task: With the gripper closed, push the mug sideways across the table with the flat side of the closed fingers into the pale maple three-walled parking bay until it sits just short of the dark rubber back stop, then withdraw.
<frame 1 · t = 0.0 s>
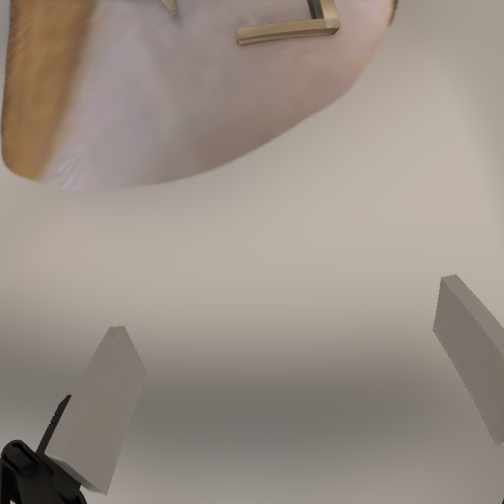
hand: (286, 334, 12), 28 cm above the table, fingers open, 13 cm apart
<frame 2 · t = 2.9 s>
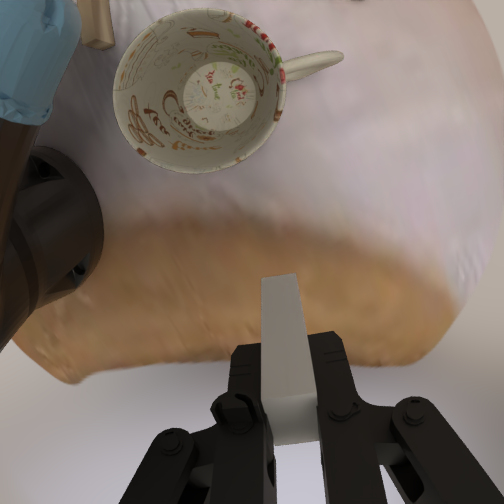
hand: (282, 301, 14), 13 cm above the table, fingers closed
mug: (246, 86, 22), on the table
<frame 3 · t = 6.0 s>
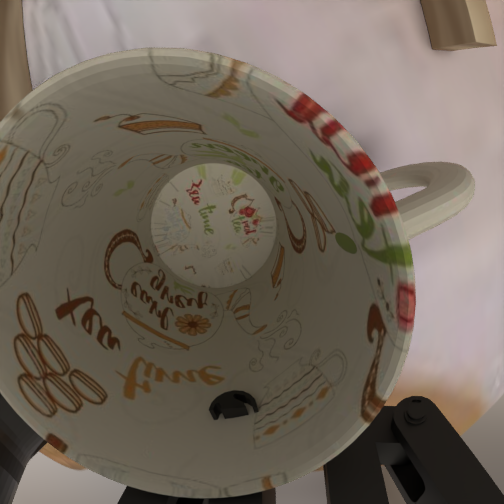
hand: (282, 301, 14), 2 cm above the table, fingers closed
mug: (258, 207, 14), on the table, touching gripper, hand
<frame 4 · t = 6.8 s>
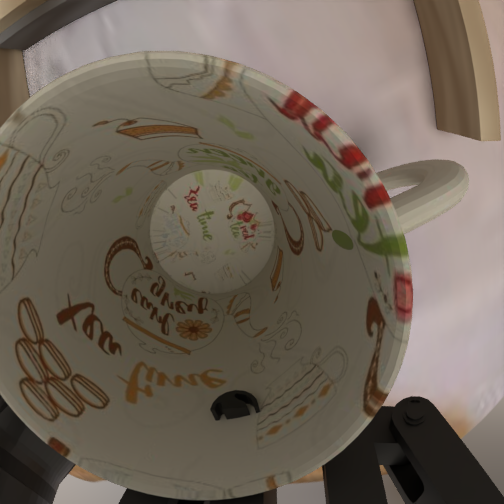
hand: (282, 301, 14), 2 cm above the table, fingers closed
mug: (255, 212, 14), on the table, touching gripper, hand
bay: (211, 36, 11), on the table
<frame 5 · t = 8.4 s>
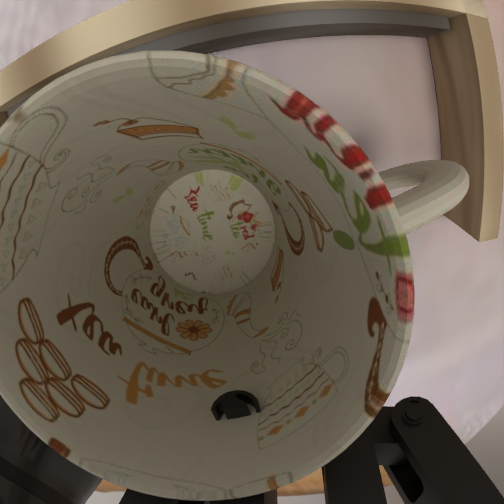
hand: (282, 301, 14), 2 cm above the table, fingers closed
mug: (255, 212, 14), on the table, touching gripper, hand
bay: (235, 125, 13), on the table
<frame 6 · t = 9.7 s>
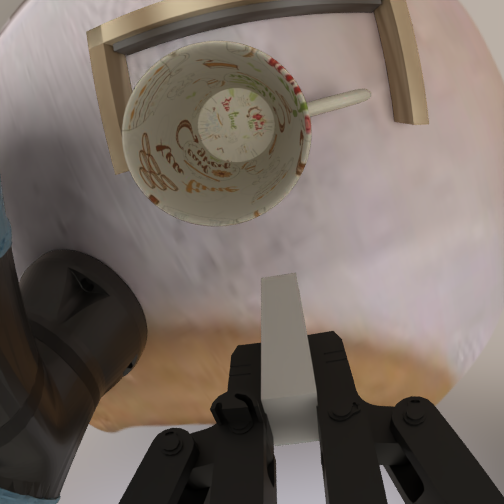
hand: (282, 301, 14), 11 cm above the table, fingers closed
mug: (264, 115, 21), on the table
bay: (256, 63, 20), on the table
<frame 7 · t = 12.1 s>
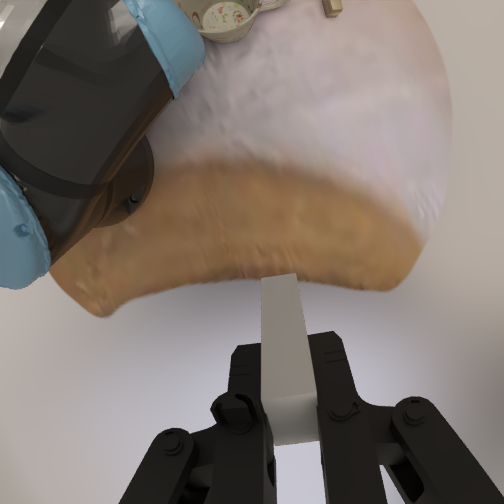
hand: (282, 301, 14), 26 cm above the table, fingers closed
mug: (243, 16, 30), on the table
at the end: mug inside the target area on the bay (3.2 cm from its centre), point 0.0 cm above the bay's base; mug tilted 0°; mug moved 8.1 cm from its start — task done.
